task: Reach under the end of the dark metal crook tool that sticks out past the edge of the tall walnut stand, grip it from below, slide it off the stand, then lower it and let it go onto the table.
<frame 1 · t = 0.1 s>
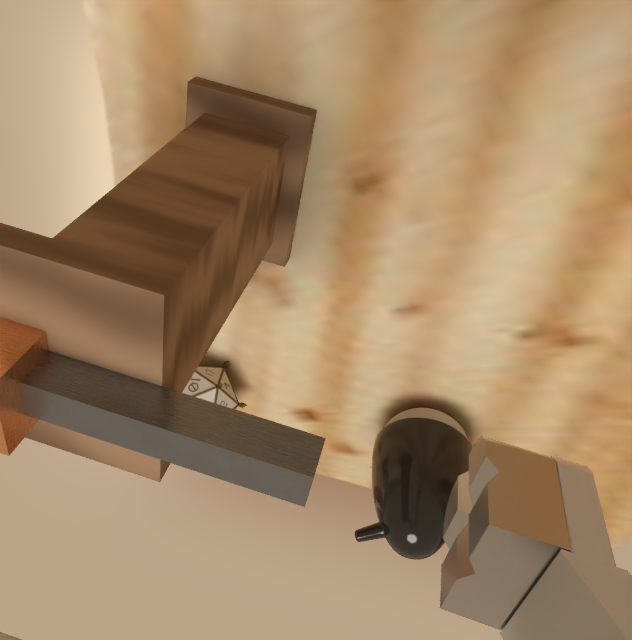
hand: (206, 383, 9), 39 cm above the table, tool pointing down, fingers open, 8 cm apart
walnut stand: (246, 174, 50), on the table
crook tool: (161, 402, 30), point 26 cm above the table, touching walnut stand
game die: (215, 372, 66), on the table
pump dispenser: (425, 425, 63), on the table
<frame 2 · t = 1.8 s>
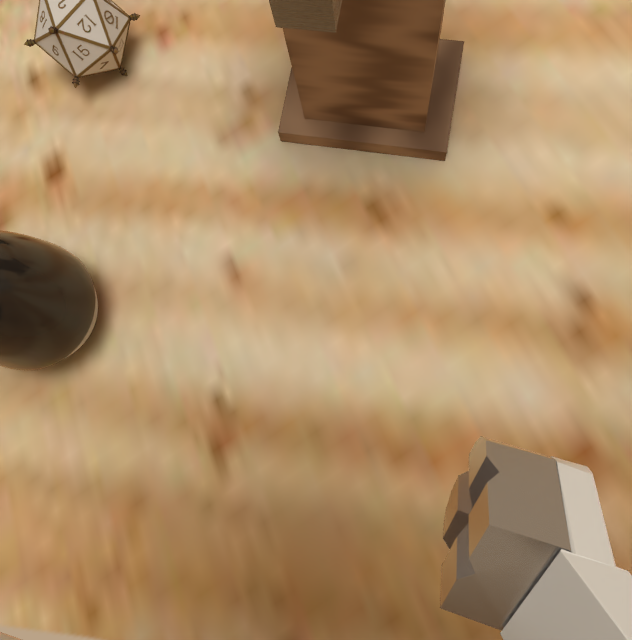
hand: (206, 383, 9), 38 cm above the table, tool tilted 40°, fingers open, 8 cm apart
walnut stand: (371, 96, 50), on the table
game die: (105, 59, 54), on the table
pump dispenser: (59, 314, 50), on the table
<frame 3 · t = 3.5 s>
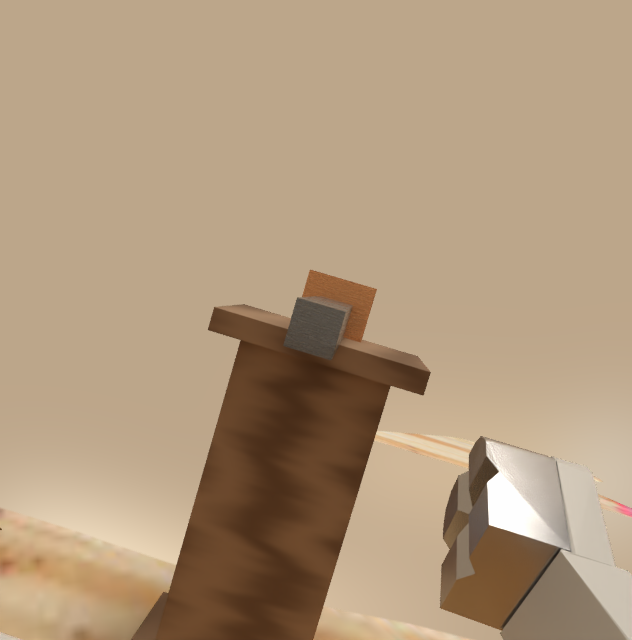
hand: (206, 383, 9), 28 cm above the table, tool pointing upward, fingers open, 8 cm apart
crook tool: (321, 339, 36), point 26 cm above the table, touching walnut stand
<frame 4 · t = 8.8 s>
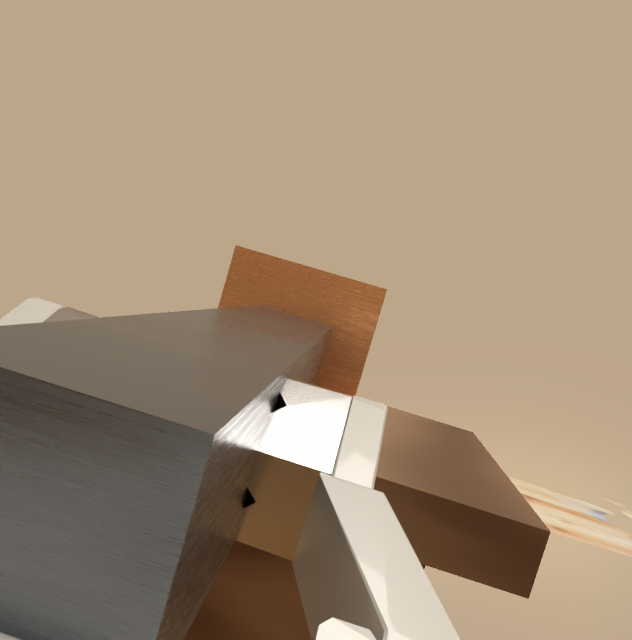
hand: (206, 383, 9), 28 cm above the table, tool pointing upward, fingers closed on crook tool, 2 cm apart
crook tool: (232, 431, 13), point 26 cm above the table, touching gripper, walnut stand
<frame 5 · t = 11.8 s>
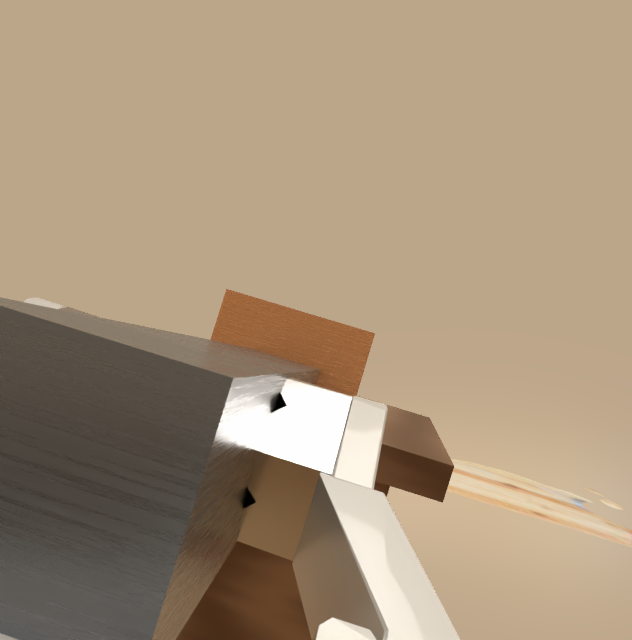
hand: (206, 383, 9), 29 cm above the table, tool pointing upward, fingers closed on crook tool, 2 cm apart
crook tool: (222, 462, 13), point 27 cm above the table, tilted 7°, touching gripper
when the fingers open (19 cm above the table, at t = 15.4 s): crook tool drops 17 cm, on the table.
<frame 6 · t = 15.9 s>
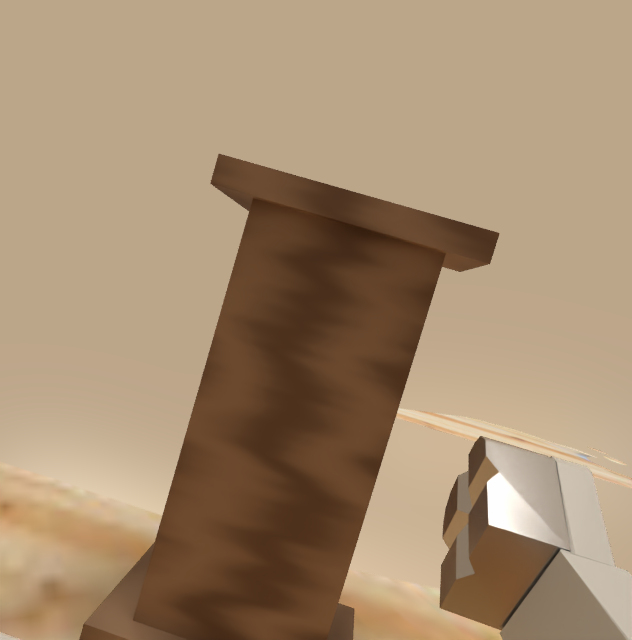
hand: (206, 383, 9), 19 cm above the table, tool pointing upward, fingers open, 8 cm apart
walnut stand: (229, 639, 34), on the table
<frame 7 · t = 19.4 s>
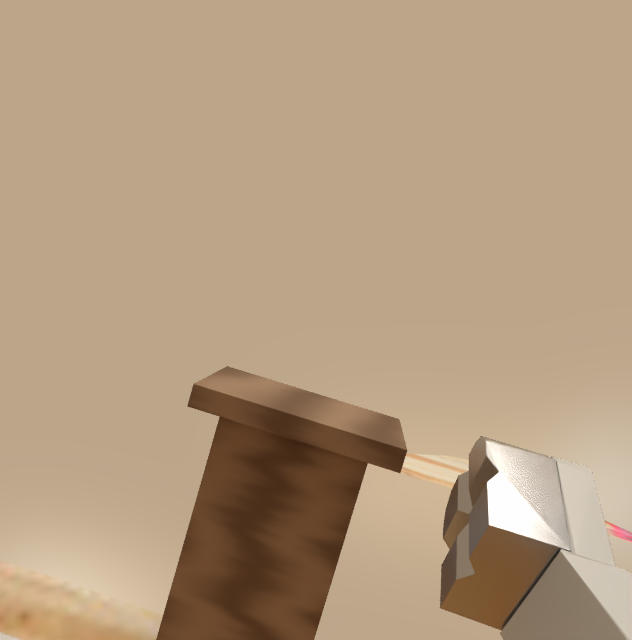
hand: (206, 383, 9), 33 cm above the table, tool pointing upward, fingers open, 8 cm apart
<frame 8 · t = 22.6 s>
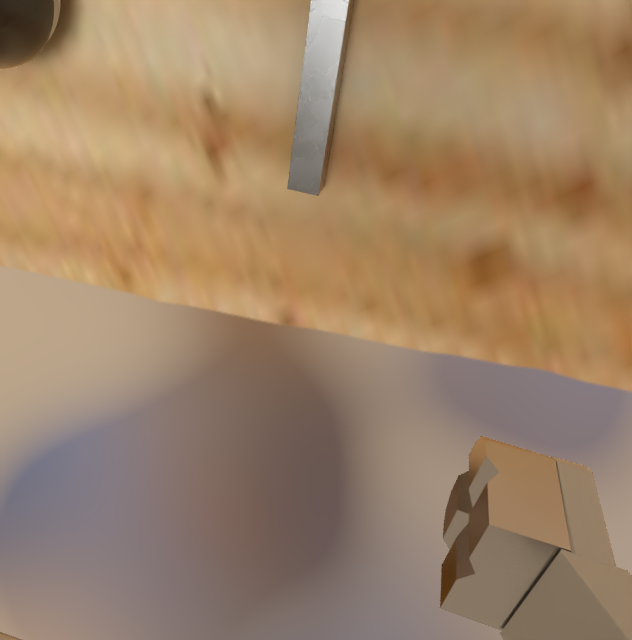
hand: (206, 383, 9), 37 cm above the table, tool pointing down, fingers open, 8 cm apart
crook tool: (326, 67, 41), on the table
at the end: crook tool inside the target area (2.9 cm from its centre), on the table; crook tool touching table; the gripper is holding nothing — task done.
